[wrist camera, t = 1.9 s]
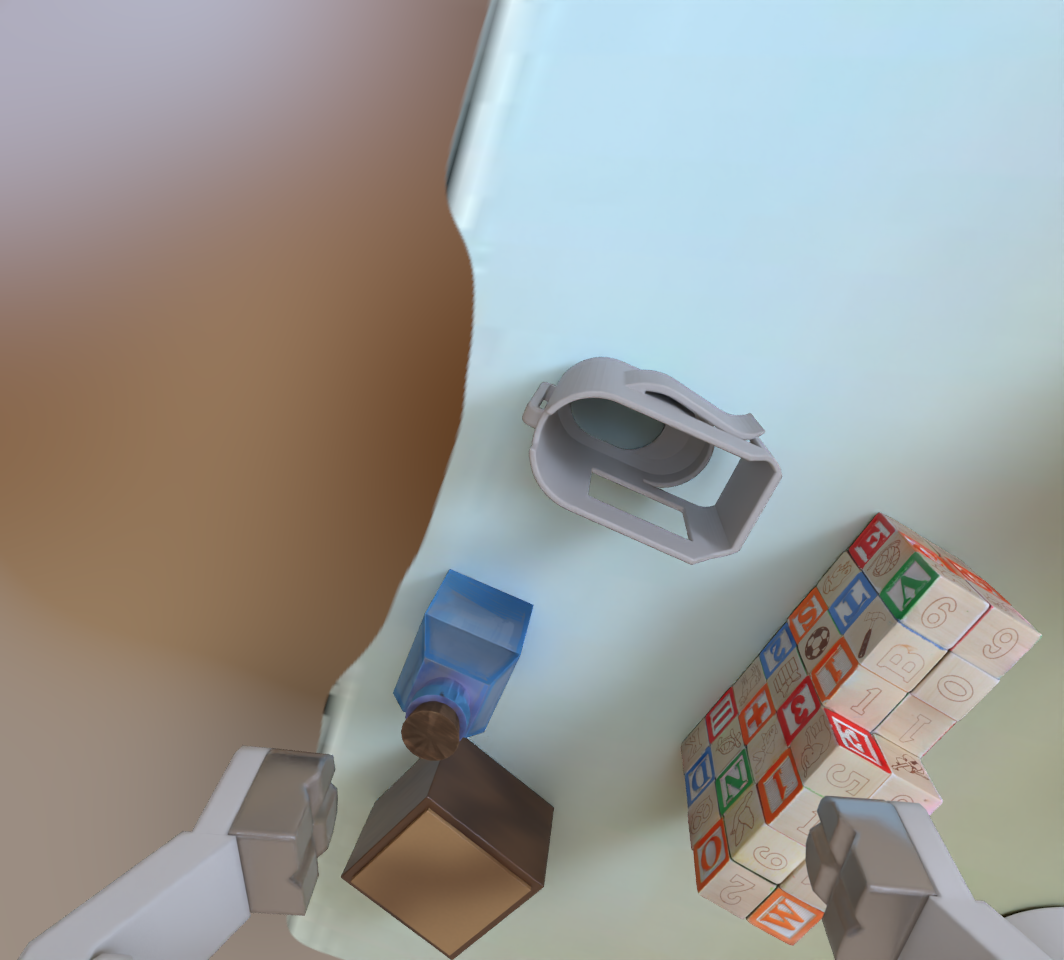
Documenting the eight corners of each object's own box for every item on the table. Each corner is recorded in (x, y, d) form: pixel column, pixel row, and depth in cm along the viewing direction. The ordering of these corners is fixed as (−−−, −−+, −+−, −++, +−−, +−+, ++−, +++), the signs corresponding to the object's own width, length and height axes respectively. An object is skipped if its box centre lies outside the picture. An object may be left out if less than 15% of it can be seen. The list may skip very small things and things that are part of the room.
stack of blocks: (876, 506, 42) (972, 602, 31) (961, 558, 43) (1088, 672, 31) (678, 746, 49) (695, 898, 38) (753, 789, 50) (792, 953, 38)
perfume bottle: (420, 641, 49) (359, 756, 38) (449, 569, 47) (394, 667, 36) (500, 675, 49) (463, 800, 38) (533, 604, 47) (504, 715, 36)
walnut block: (554, 807, 52) (543, 891, 45) (472, 876, 55) (451, 965, 48) (452, 726, 51) (425, 799, 44) (374, 801, 54) (338, 881, 47)
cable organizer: (708, 501, 43) (738, 587, 32) (527, 421, 43) (493, 479, 32) (761, 405, 41) (813, 462, 30) (570, 320, 41) (550, 345, 30)
